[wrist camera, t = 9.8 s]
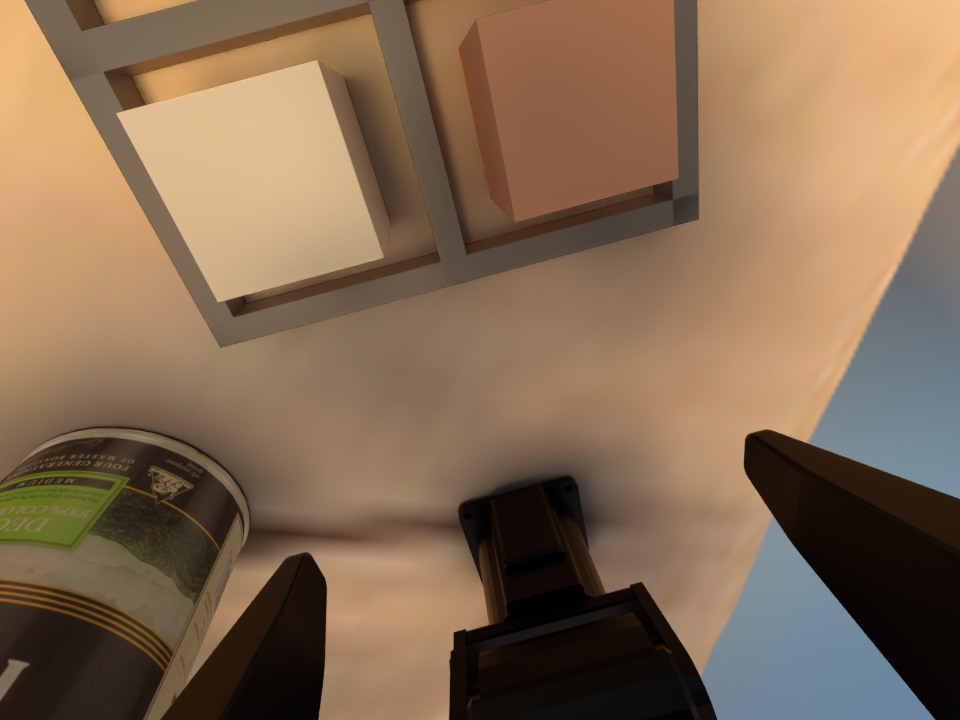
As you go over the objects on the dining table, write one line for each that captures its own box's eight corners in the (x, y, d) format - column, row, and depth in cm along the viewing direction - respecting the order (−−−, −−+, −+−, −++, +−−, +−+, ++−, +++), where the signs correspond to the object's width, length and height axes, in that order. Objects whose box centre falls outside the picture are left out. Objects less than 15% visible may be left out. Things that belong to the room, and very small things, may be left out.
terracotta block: (613, 164, 18) (678, 178, 14) (490, 198, 18) (515, 222, 14) (600, 10, 16) (672, -33, 11) (458, 48, 16) (476, 19, 11)
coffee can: (-36, 436, 20) (-803, 975, 7) (221, 416, 21) (-65, 853, 8) (66, 596, 24) (-294, 1091, 12) (271, 573, 26) (136, 1002, 13)
